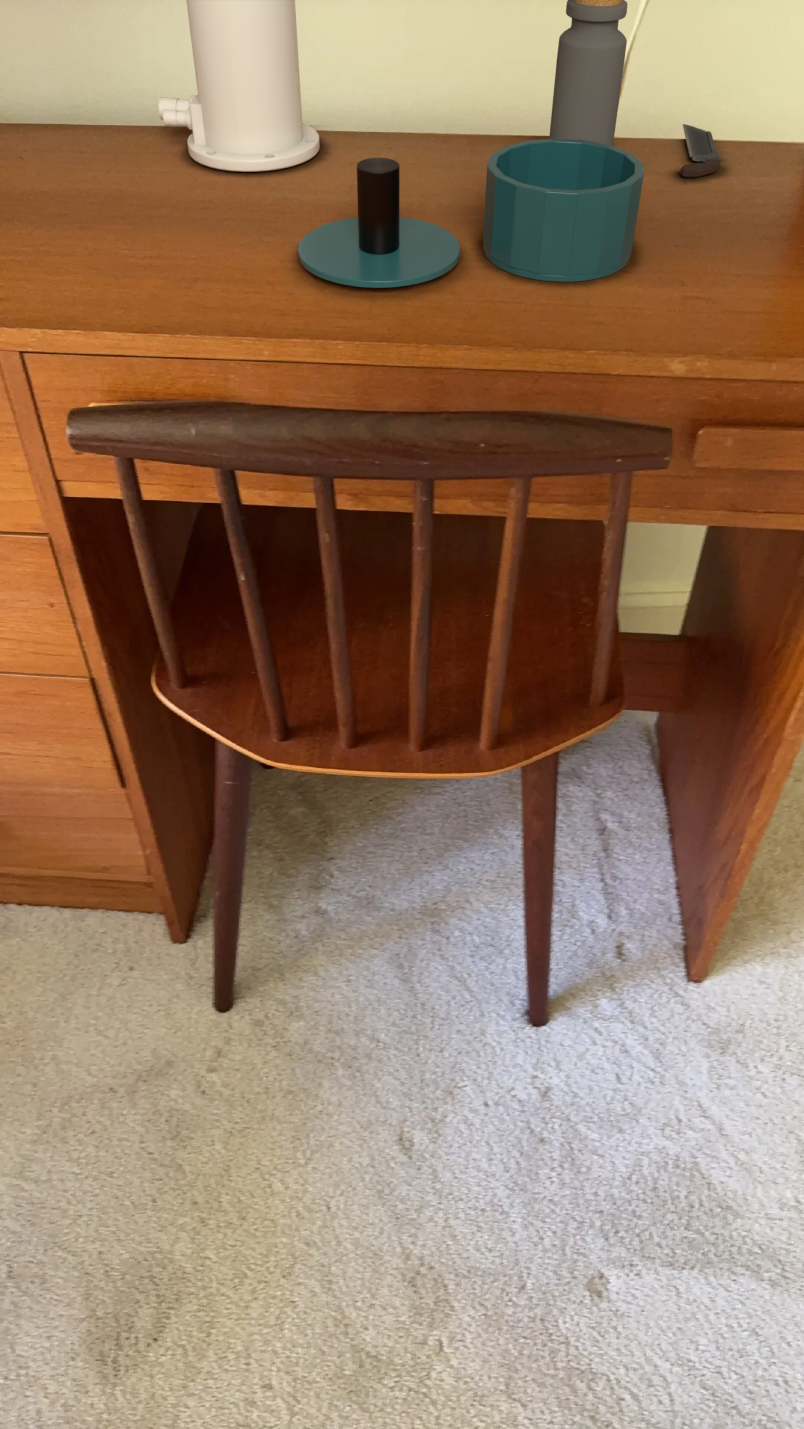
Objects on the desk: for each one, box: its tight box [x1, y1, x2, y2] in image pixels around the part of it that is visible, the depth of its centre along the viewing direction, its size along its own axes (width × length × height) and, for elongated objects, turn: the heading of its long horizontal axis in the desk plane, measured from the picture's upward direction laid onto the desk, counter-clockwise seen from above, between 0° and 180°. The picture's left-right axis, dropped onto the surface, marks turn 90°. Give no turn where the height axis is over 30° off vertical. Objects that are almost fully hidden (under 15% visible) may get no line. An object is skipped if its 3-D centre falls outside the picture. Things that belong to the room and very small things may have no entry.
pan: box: [482, 138, 645, 283], centre depth 82 cm, size 12×12×6 cm
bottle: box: [548, 0, 628, 146], centre depth 91 cm, size 6×6×15 cm
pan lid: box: [297, 157, 461, 289], centre depth 80 cm, size 13×13×7 cm
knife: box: [679, 123, 722, 179], centre depth 99 cm, size 14×4×1 cm, turn 173°
